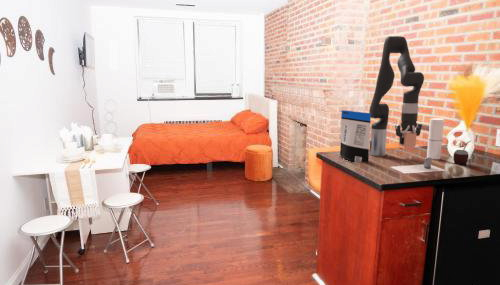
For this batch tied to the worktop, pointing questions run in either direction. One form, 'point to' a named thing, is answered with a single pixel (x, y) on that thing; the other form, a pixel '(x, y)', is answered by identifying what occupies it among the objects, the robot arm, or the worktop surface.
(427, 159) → the steel post
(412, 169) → the white board
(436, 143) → the cylindrical container
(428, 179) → the worktop surface
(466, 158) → the mate gourd
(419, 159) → the worktop surface
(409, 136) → the salmon pink cube
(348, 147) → the protein powder
